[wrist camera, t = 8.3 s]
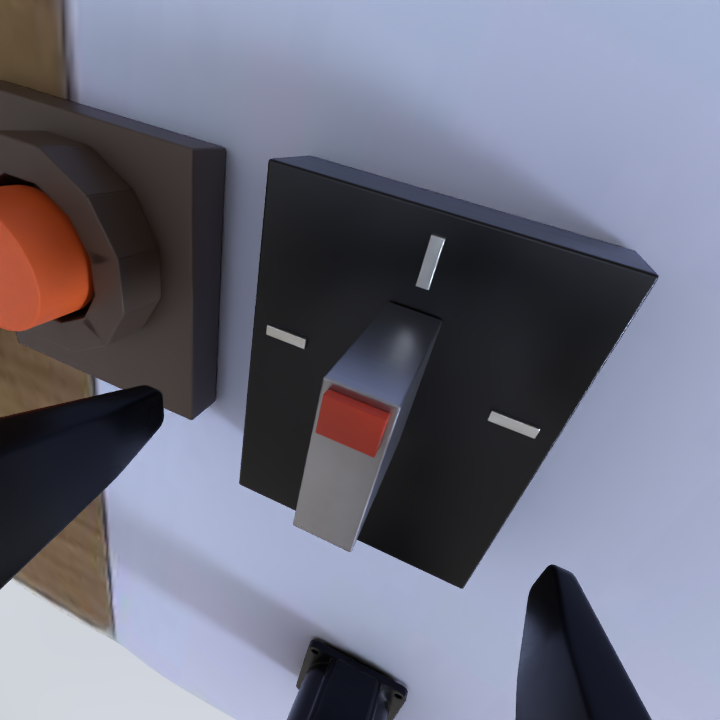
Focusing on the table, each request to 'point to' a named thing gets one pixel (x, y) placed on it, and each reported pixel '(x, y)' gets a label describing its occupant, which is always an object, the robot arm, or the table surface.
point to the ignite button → (39, 260)
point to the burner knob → (362, 422)
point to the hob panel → (450, 351)
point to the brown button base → (127, 242)
